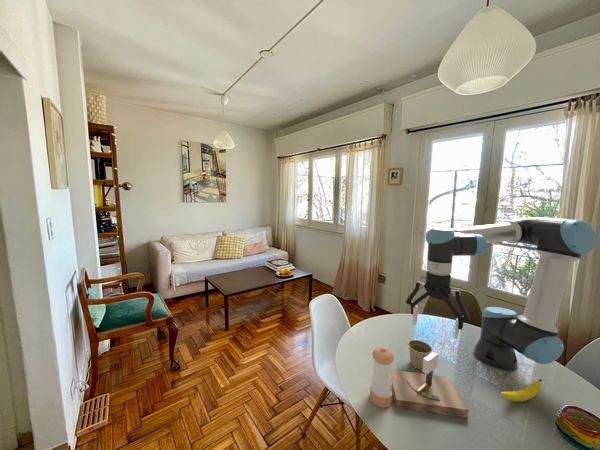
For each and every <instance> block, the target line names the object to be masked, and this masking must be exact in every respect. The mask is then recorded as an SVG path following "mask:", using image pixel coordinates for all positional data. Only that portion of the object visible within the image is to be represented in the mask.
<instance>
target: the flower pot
mask: <svg viewBox="0 0 600 450" xmlns="http://www.w3.org/2000/svg"><path fill="white" fill-rule="evenodd" d="M407 346H408V349H409V356H410V360H409V361H410V364H411V366H412V367H413V368H415V369H417V370H421V371H423V358H425V357H426V356H428V355H429V354H430V353H432V352H434V351H433V349H434V348H433V347H432V346H431V344H429V343H427V342H425V341H423V340H420V339H411V340H409V341H408V342H407Z"/></svg>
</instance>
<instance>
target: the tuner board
mask: <svg viewBox="0 0 600 450" xmlns="http://www.w3.org/2000/svg"><path fill="white" fill-rule="evenodd" d="M391 382H392V385H391V391H392V397H393V398H394V400H393V401H394V402H395V406H396V407H395V408H397V409H402V410H403V409H404V410H410V411H415V412H416V411H417V412H423V413H428V414H429V413H430V414H437V415H442V416H444V415H445V416H450V417H456V418H464V419H468V418H469V408H468V407H467V405H466V403H465V402H464V400H463V398H462V397H461V395H460V393H459V391H458V390H457V388H456V387H455V385H454V383H453V382H452V380H451V378H450V377H449V376H443V375H438V374H437V375H436V374H433V376H432V385H431V386H428V385H427V386H426V387H425V388H424V389H422V390H421V391H420V392H417V389H419V388H420V387H421V386H422V385H423V384H425V383H426V373H421V372H413V371H412V372H411V371H405V370H404V371H403V370H397V369H391Z"/></svg>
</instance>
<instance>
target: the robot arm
mask: <svg viewBox="0 0 600 450" xmlns="http://www.w3.org/2000/svg"><path fill="white" fill-rule="evenodd" d="M425 241H426V243H427V259H426V260H427V261H426V270H427V271H426V273H425V274H426V275H425V283H424V282H423V281H422V280H419V281H417V282H416V283H415V287H414V289H413V290H412V292H411V293H410V295H409V296H408V298H407V299H406V301H405V303H406V304H408V305H409V306H410V315H412V325H416V324H417V323H418V314H419V313H418V312H419V311H418V310H419V306H418V305H417V304H419V303H420V302H422V301H423V300H424V299H426V298H428V297H430V298H432V299H437V300H438V301H444V303H445V304H446V305H447V306H448V307H449V309H450V310H451V312H452V313H453V314H454V315H455V317H456V318H455V322H454V323H455V326H454V337H453V338H454V339H455V340H458V337H459V333H460V331H461V330H463V327H464V322H465V321H466V322H469V321H470V320H471V315H470V312H469V310H468V308H467V306H466V304H465V302H464V299H463V297H462V291H461V289H452V288H451V281H452V280H451V279H452V278H451V277H452V275H451V274H452V270H453V269H452V268H453V266H452V265H453V257H455V256H459V257H460V256H461V257H463V256H468V257H469V256H471V257H474V256H481V255H483V254H484V253H485V252H486V251H487V250H488V244H492V243H502V242H506V243H509V244H518V243H519V244H526V245H531V246H535V247H536V249H535V251H536V252H537V253H538V254H539V258H538V262H537V265H536V270H535V273H534V276H533V280H532V283H531V287H530V290H529V294H528V296H527V301H526V304H525V307H524V311H523V313H522V314H521V315H518V312H516V311H514V310H511V309H509V308H504V307H500V306H499V307H498V306H487V307H485V308H483V312H482V315H481V323H480V324H481V325H480V326H481V327H480V338H479V339H478V341H477V342H476V344H475V345H474V348H473V349H474V350H473V355H474V356H475V357H476V358H477V359H478V360H479V361H480V362H482V363H484V364H486V365H487V366H490V367H493V368H496V369H499V370H503V371H513V370H515V369H517V368H518V358H517V355H516V352H518V353H520V354H522V355H523V356H524V357H525V358H527V359H529V360H531V361H533V362H535V363H537V364H539V365H540V364H541V365H548V364H552V363H553V362H555V361H556V360H558V359H559V358H560V357H561V356H562V354H563V352H564V349H565V346H564V345H565V344H564V343H563V340H562V339H560V338H559V337H558V334H559V330H558V328H557V327H556V325H555V324H556V323H555V322H556V319H557V316H558V314H559V313H558V312H559V309H560V306H561V302H562V299H563V295H564V292H565V289H566V286H567V283H568V279H569V277H570V274H571V273H570V272H571V269H572V267H573V266H572V265H573V263H575V262H576V261H580V260H581V259H582V258H581V257H582V255H587V254H589V253H591V252H592V251H593V250H594V248H595V247H596V244H597V234H596V231H595V230H594V227H593V226H592V225H591V224H589V223H588V221H587V222H586V221H584V220H581V219H580V220H579V219H573V218H558V217H557V218H556V217H543V216H533V217H531V216H530V217H524V218H522V217H521V218H517V219H516V218H515V219H508V220H504V221H503V222H500V223H493V224H482V225H472V226H462V227H453V228H444V227H442V228H441V227H433V228H431V229H429V230H428V231H427V232H426V235H425ZM423 287H424V290H425V293H423V294H422V295H420V296H419V297H418V298H416V299H415V300H414V298H415V296H417V294H418V293H419V291H420V290H421V289H423ZM451 294H452V296H453V297H455V301H456V303H457V305H458V306H457V305H456V304H455V302H454V301H453V300H452V298H451V296H450V295H451ZM458 307H459V308H458Z"/></svg>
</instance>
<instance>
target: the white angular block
mask: <svg viewBox="0 0 600 450" xmlns="http://www.w3.org/2000/svg"><path fill="white" fill-rule="evenodd" d="M438 358H439V354H438V353H437V352H434V351H432V352H431V353H430V354H429V355H428V356H426V357H425V358H423V369H422V370H421V371H422V372H423V374H426V383H425V384H423V385H422V386H421V387H420V388H419V389H417V392H420V391H421V390H422V389H424V388H425V387H426V386H427V385H428V386H431V385H432V376H433V375H434V372H433V371H434V370H435V369H436V368H438V361H439V360H438Z"/></svg>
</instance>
